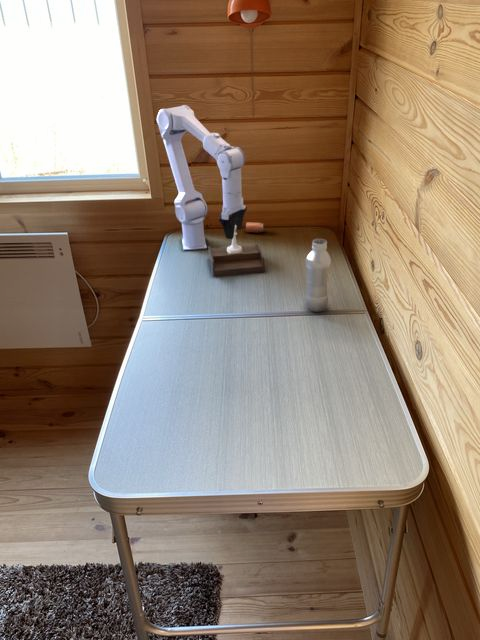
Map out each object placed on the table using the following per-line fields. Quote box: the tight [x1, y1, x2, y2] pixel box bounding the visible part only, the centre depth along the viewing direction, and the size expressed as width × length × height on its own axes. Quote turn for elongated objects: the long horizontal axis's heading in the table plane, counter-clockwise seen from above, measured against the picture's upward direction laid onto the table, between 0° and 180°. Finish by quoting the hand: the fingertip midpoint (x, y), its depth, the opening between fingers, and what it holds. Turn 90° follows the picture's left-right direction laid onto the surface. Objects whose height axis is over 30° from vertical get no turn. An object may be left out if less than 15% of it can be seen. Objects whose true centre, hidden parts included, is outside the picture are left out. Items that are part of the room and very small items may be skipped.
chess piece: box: [226, 225, 242, 253], centre depth 163 cm, size 5×5×10 cm
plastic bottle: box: [303, 238, 332, 313], centre depth 138 cm, size 6×7×20 cm
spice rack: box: [207, 241, 265, 277], centre depth 165 cm, size 12×16×5 cm
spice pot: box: [245, 221, 265, 234], centre depth 188 cm, size 4×4×6 cm
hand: (233, 233), depth 163 cm, fingers open, 7 cm apart
